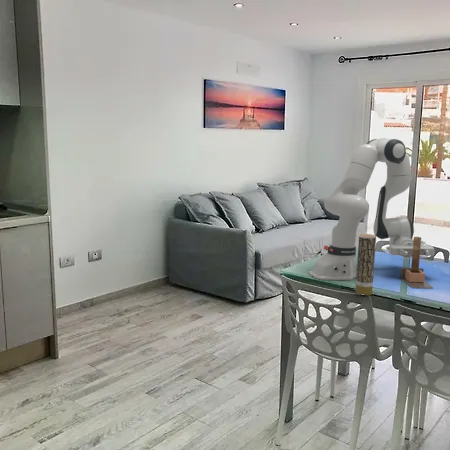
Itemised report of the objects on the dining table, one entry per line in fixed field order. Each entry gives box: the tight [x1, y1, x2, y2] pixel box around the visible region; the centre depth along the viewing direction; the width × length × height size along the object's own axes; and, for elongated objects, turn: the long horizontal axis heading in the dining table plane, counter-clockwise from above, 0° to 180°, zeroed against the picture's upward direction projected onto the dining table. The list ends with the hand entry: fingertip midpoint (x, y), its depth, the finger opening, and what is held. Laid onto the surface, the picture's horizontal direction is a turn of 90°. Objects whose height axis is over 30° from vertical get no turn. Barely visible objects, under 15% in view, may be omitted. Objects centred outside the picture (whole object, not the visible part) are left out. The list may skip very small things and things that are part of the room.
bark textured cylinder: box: [355, 233, 377, 297], centre depth 209 cm, size 7×7×25 cm
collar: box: [405, 270, 426, 282], centre depth 231 cm, size 7×7×4 cm
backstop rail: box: [399, 267, 434, 290], centre depth 229 cm, size 16×10×5 cm, turn 179°
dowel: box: [410, 236, 422, 273], centre depth 231 cm, size 3×3×20 cm
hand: (416, 254), depth 229 cm, fingers open, 8 cm apart
